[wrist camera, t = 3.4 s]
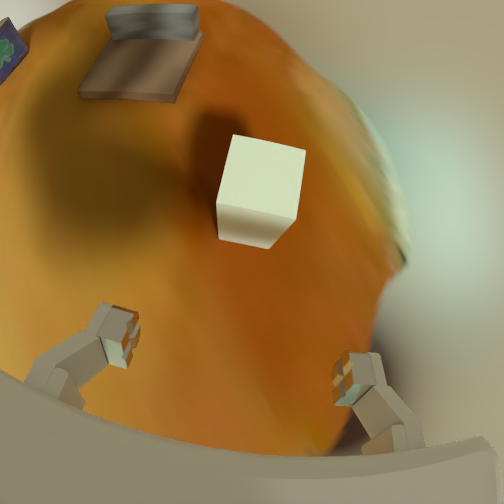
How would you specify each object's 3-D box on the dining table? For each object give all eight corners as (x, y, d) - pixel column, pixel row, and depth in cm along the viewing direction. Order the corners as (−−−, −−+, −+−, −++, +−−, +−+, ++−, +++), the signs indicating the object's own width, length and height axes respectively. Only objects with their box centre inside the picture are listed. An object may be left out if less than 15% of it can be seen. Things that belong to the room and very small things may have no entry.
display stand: (81, 98, 26) (62, 67, 21) (119, 38, 28) (109, 7, 22) (174, 103, 27) (166, 65, 21) (203, 40, 29) (202, 4, 23)
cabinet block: (218, 238, 26) (216, 202, 16) (229, 191, 26) (233, 134, 16) (268, 249, 26) (296, 219, 16) (276, 202, 27) (306, 150, 17)
